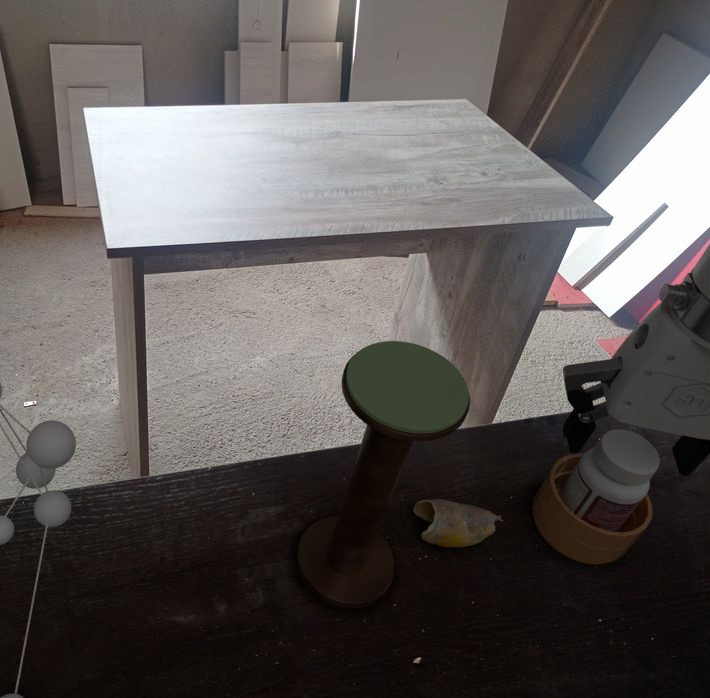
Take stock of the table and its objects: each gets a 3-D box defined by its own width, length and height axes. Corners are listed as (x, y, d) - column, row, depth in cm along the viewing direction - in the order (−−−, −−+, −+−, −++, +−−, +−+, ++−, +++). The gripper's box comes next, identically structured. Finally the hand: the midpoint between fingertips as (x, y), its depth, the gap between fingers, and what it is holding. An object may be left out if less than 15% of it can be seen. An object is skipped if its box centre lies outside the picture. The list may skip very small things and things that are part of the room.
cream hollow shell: (467, 503, 73) (498, 495, 70) (474, 549, 72) (507, 543, 68) (402, 502, 70) (431, 493, 66) (409, 550, 69) (439, 544, 65)
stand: (410, 561, 68) (492, 386, 51) (357, 629, 62) (430, 458, 46) (332, 505, 72) (386, 326, 55) (276, 564, 66) (317, 386, 50)
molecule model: (108, 486, 73) (152, 381, 60) (15, 754, 56) (49, 685, 43) (-28, 440, 71) (-13, 322, 59) (-169, 704, 54) (-190, 615, 41)
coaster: (488, 386, 51) (490, 382, 51) (429, 455, 46) (430, 451, 46) (387, 328, 55) (388, 324, 55) (321, 386, 50) (322, 382, 50)
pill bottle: (624, 529, 72) (680, 459, 64) (588, 559, 69) (643, 490, 61) (572, 486, 75) (620, 414, 67) (536, 513, 72) (582, 441, 65)
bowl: (638, 523, 73) (665, 491, 69) (606, 585, 68) (633, 554, 64) (552, 470, 77) (572, 438, 73) (515, 525, 72) (535, 493, 68)
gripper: (622, 321, 51) (532, 465, 63) (875, 368, 50) (735, 506, 62) (604, 259, 56) (524, 403, 68) (832, 300, 55) (710, 439, 67)
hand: (624, 452), depth 65 cm, fingers open, 9 cm apart
